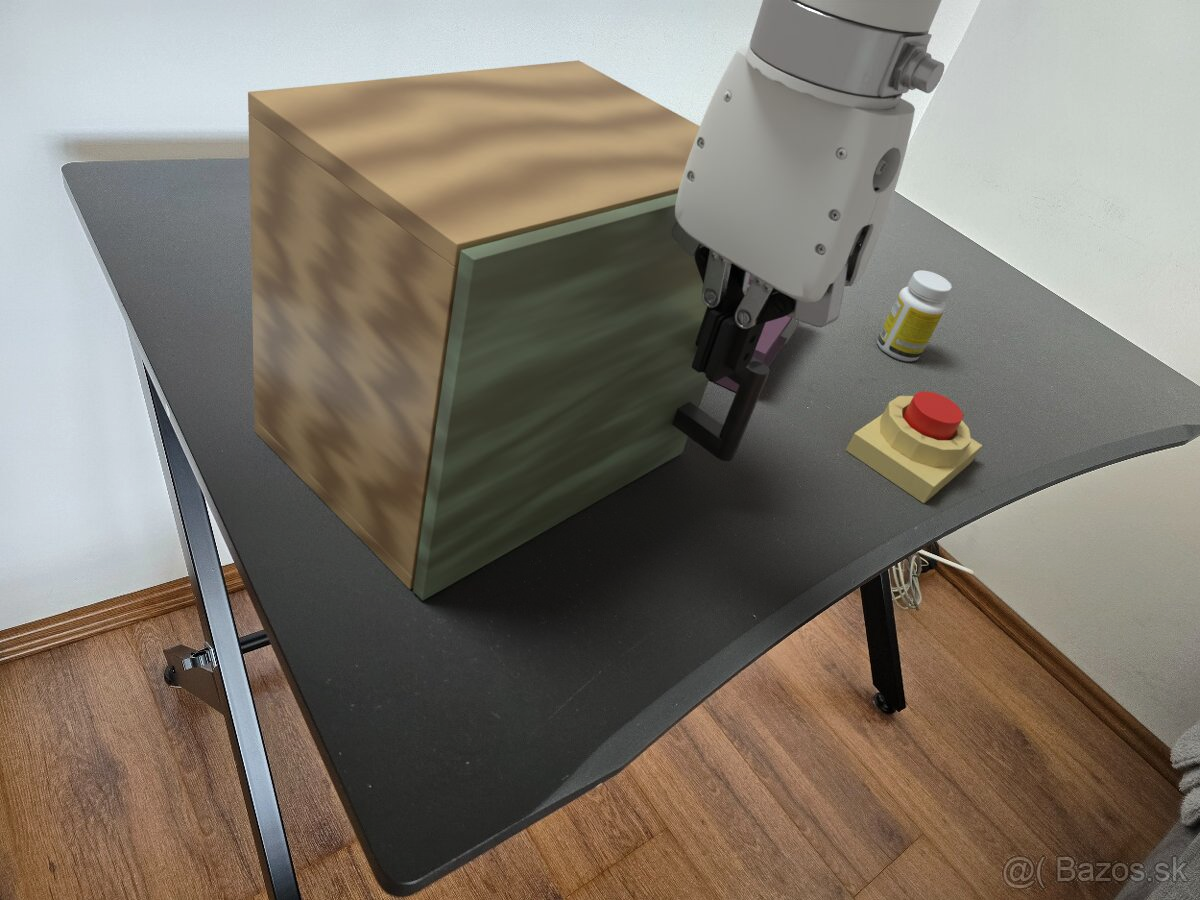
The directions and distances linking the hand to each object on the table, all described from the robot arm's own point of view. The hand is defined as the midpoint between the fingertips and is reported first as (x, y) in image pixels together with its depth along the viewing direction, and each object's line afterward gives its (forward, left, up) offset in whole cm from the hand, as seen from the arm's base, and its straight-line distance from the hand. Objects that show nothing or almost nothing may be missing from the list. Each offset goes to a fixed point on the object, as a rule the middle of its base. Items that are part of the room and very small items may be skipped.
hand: (716, 368), depth 54 cm
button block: (-6, -30, -17) cm, 35 cm away
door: (+4, +2, -17) cm, 17 cm away
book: (+22, -27, -17) cm, 39 cm away
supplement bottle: (+4, -46, -17) cm, 50 cm away
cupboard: (+16, +2, -17) cm, 24 cm away
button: (-6, -30, -13) cm, 34 cm away
